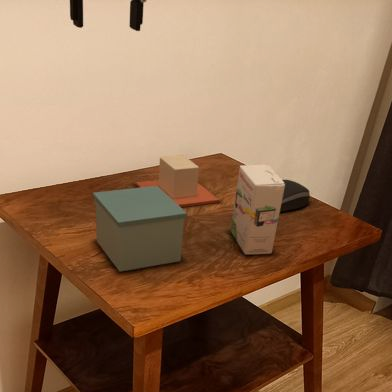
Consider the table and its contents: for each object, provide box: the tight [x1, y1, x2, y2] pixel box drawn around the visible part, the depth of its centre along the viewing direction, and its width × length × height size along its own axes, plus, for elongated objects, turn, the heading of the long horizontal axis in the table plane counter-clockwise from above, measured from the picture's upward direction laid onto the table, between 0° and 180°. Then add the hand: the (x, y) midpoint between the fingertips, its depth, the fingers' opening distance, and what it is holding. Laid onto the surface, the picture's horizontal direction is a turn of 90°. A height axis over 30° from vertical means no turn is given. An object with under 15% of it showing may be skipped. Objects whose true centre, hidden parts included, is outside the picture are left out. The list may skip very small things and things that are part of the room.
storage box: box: [92, 186, 188, 273], centre depth 81 cm, size 11×11×8 cm
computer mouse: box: [280, 179, 311, 213], centre depth 103 cm, size 7×12×4 cm, turn 129°
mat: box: [135, 179, 220, 208], centre depth 103 cm, size 12×12×1 cm
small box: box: [158, 154, 200, 199], centre depth 101 cm, size 5×6×6 cm
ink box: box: [229, 163, 285, 256], centre depth 86 cm, size 8×5×12 cm, turn 14°
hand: (107, 27), depth 87 cm, fingers open, 9 cm apart
